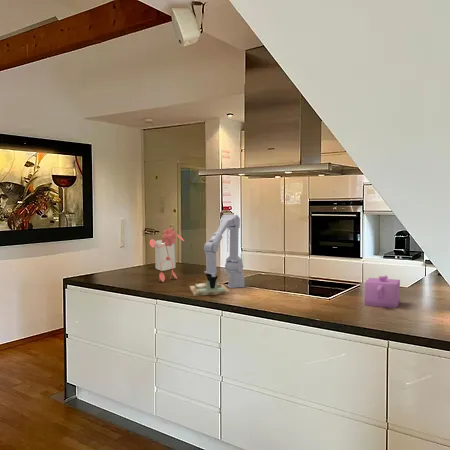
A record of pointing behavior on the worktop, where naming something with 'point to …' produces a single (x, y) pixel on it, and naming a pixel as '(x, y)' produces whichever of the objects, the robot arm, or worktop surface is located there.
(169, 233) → the figurine
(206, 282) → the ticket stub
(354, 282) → the worktop surface
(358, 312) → the worktop surface
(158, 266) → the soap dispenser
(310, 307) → the worktop surface
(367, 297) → the teapot
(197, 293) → the board
